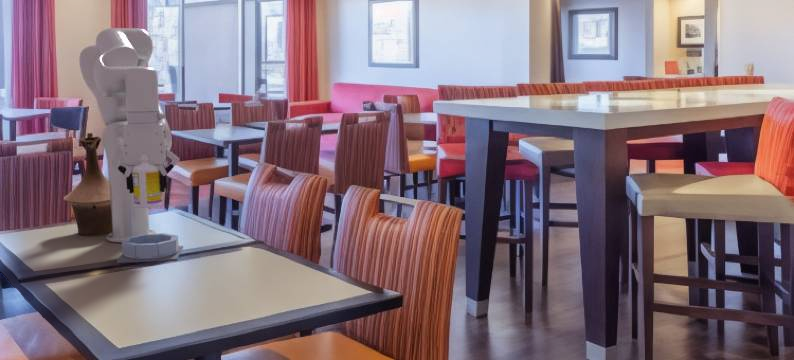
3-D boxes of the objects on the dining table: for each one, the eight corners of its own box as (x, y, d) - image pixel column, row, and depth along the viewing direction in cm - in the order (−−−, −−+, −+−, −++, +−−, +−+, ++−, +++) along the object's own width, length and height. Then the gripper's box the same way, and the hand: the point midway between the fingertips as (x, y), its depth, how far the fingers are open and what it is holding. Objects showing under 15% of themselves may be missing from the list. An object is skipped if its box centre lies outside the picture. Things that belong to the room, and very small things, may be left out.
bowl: (128, 248, 209) (127, 234, 208) (180, 246, 211) (180, 232, 210) (119, 260, 196) (118, 246, 196) (175, 258, 198) (174, 243, 198)
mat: (126, 249, 209) (126, 248, 209) (183, 247, 212) (182, 245, 212) (116, 263, 196) (116, 261, 196) (177, 260, 198) (177, 258, 198)
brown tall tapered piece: (64, 229, 236) (57, 131, 232) (126, 223, 243) (120, 129, 239) (68, 241, 220) (60, 137, 216) (134, 234, 227) (127, 133, 223)
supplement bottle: (166, 204, 205) (164, 152, 203) (156, 208, 198) (153, 155, 196) (140, 203, 205) (137, 152, 203) (129, 208, 199) (126, 155, 197)
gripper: (181, 117, 204) (185, 188, 206) (108, 118, 201) (113, 190, 204) (178, 119, 196) (182, 192, 199) (102, 120, 194) (107, 195, 196)
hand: (147, 191), depth 201 cm, fingers closed on supplement bottle, 6 cm apart
